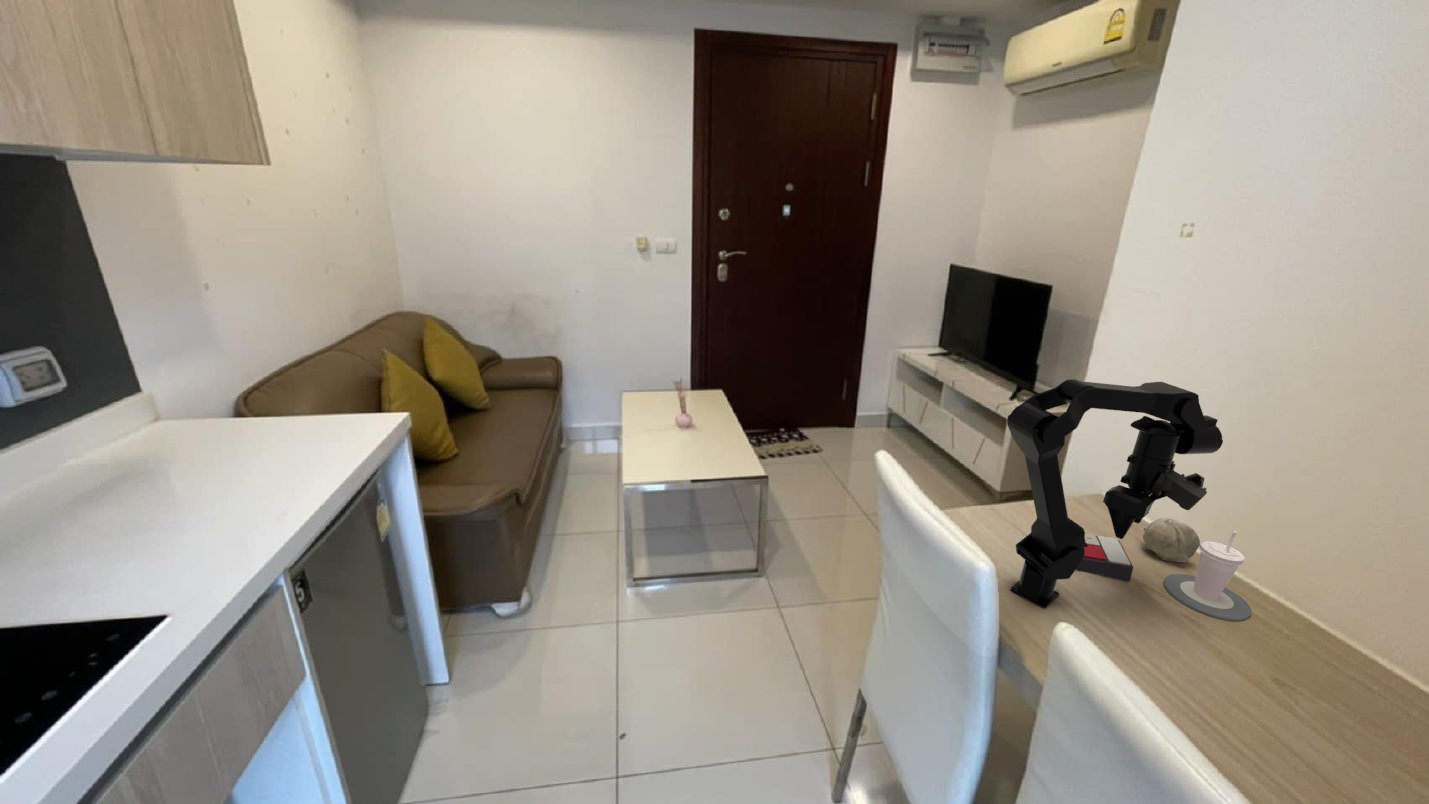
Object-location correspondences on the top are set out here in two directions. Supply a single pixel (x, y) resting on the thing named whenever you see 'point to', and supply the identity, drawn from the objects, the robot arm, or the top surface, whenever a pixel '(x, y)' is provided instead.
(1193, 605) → the coaster
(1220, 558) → the smoothie
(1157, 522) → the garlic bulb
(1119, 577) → the calculator
